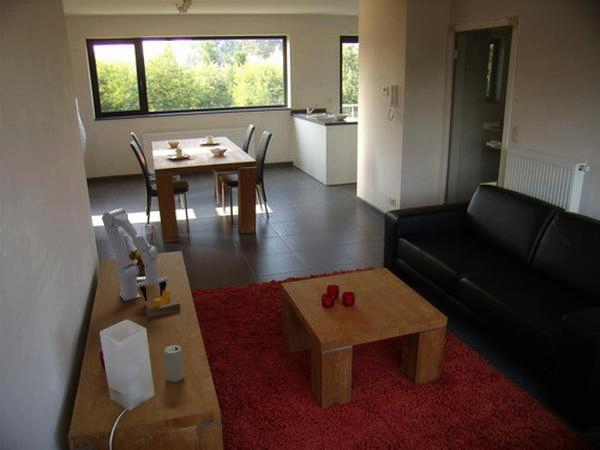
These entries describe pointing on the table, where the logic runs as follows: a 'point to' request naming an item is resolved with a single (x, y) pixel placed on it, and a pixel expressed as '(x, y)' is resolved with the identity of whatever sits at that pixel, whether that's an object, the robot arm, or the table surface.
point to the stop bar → (163, 309)
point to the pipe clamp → (162, 299)
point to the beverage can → (174, 363)
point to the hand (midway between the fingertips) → (153, 298)
